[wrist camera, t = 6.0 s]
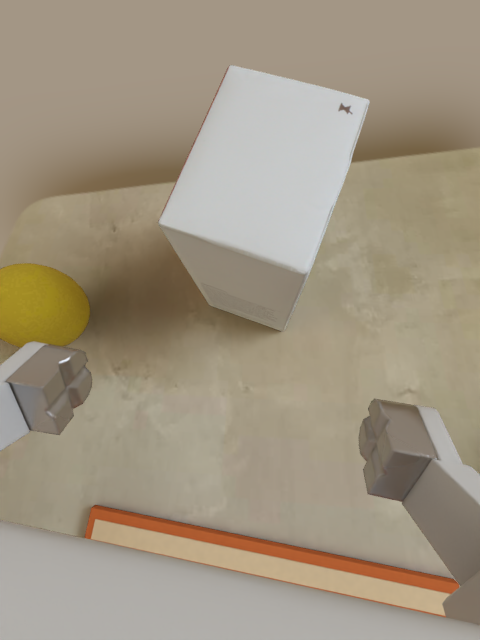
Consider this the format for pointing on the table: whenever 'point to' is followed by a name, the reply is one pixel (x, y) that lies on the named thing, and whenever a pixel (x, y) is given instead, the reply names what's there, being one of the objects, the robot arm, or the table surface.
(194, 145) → the small box
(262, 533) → the table surface
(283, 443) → the table surface
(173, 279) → the table surface
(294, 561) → the towel
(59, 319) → the lemon
